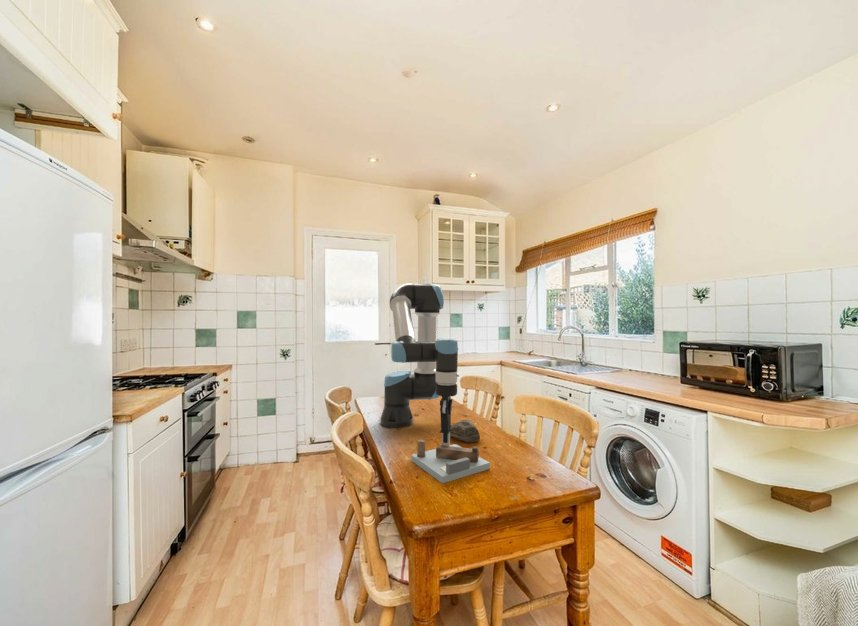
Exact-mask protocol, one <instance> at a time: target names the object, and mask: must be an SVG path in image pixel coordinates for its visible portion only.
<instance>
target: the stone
mask: <svg viewBox="0 0 858 626" xmlns="http://www.w3.org/2000/svg"><path fill="white" fill-rule="evenodd" d="M450 429H452V431H449V432H450V437H453V438H454V439H456V440H460V441H462V442H465V443H469V444H470V443H476V442H477V441H479V440H480V439H481V438H480V437H481V435H480V433H479V432H480V431H479V430H478V429H477V427H476V425H475V423H474V422H472V420H469V419H461V420H459V421H457V422H456V423H453V424H451V427H450Z"/></svg>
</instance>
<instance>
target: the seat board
mask: <svg viewBox="0 0 858 626" xmlns="http://www.w3.org/2000/svg"><path fill="white" fill-rule="evenodd" d="M416 442H417V443H416V444H417V445H416V446H417V447H416V448H417V449H416V453H414V454H411V455H410V457H411V460H410V461H411V462H413V463H414V464H415V465H417V466H418V467H419V468H421V469H422V470H423V471H425V472H426V473H427V474H429V475H430V476H432V477H433V478H434V479H436V480H437V481H438V482H439V483H441V484H446V483H448V482H451V481H455V480H458V479H461V478H465V477H468V476H471V475H474V474H478V473H481V472H483V471H487V470H490V469H491V462H490V461H488V460H486V459H484V458H482V457H481V456H479V459H478V462H472V461H470V459H469V458H467V457H466V458H462V459H458V460H457V459H449V458H441V457H436V448H434V449H430V450H426V440H424V439H418V440H417V441H416ZM450 446H453V447H461V448H463V447H462V446H460V445H458V444H457V443H456V444H455V443H453V444H450Z"/></svg>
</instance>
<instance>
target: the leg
mask: <svg viewBox="0 0 858 626" xmlns="http://www.w3.org/2000/svg"><path fill="white" fill-rule="evenodd" d="M461 447H462V446H460V447H453V446H444V445H442V444H438V445H437V446H436V447H435V449H436V457H441V458H449V459H457V460H458V459H462V458H466V457H467V458H469V459H470V461H472V462H478V459H479V457H480V456H479V455H480V454H479V453H480V452H479V449H478V447H477V446H472V448H468V447H462V448H461Z"/></svg>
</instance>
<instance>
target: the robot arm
mask: <svg viewBox="0 0 858 626" xmlns="http://www.w3.org/2000/svg"><path fill="white" fill-rule="evenodd" d="M444 303H445V302H444V294H443V290H442V287H441V286H440V285H439V284H434V283H404V284H401V285H399V286H398V287H397V288H396V289H395V290H394V291H393V293H392V294H391V296H390V298H389V309H390V311H391V312H392V317H393V318H392V319H393V328H394V338H395V341H393V342H391V348H390V351H391V353H390V354H391V361H392V362H393V363H417V367H416V368H415V369H414V370H413V374H411V373H410V371H407V370H404V371H403V370H402V371H401V370H400V371H395V372H391V373H388V374H387V375H385V377H384V384H383V387H384V393H383V394H384V397H383V399H384V400H383V401H384V402H383V403H384V404H383V405H384V406H383V409H382V411H381V414H380V418H379V419H380V421H379V423H380V425H381V426H383V427H385V428H386V427H387V428H392V429H395V428H396V429H397V428H406V427H409V426H411V425H413V423H414V416H413V414H412V411H411V410H412V409H411V407H410V401H413V400H414V401H417V400H435V399H436V400H437V399H438V398H439V397H441V399H440V400H439V406H440V408H439V411H440V412H439V413H440V430H439V434H441V445H444V446H450V445H451V436H450V432H449V431H452V429H450V427H451V425H452V424H451V422H452V421H451V420H452V419H451V418H452V406H453V399H452V397H455V396H456V395H457V394H458V384H457V382H458V377H460V374H459V373H458V358H459V357H458V353H459V346H458V343H459V342H458V340H457V339H456V338H451V337H440V338H437V316H438V315H439V314H440V313H441V312H440V310H443V309H444ZM411 310H414V314H415V315H416V316H417V341H416V336H415V335H416V334H415V331H414V325H413V324H414V323H413V318H412V314H411Z"/></svg>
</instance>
